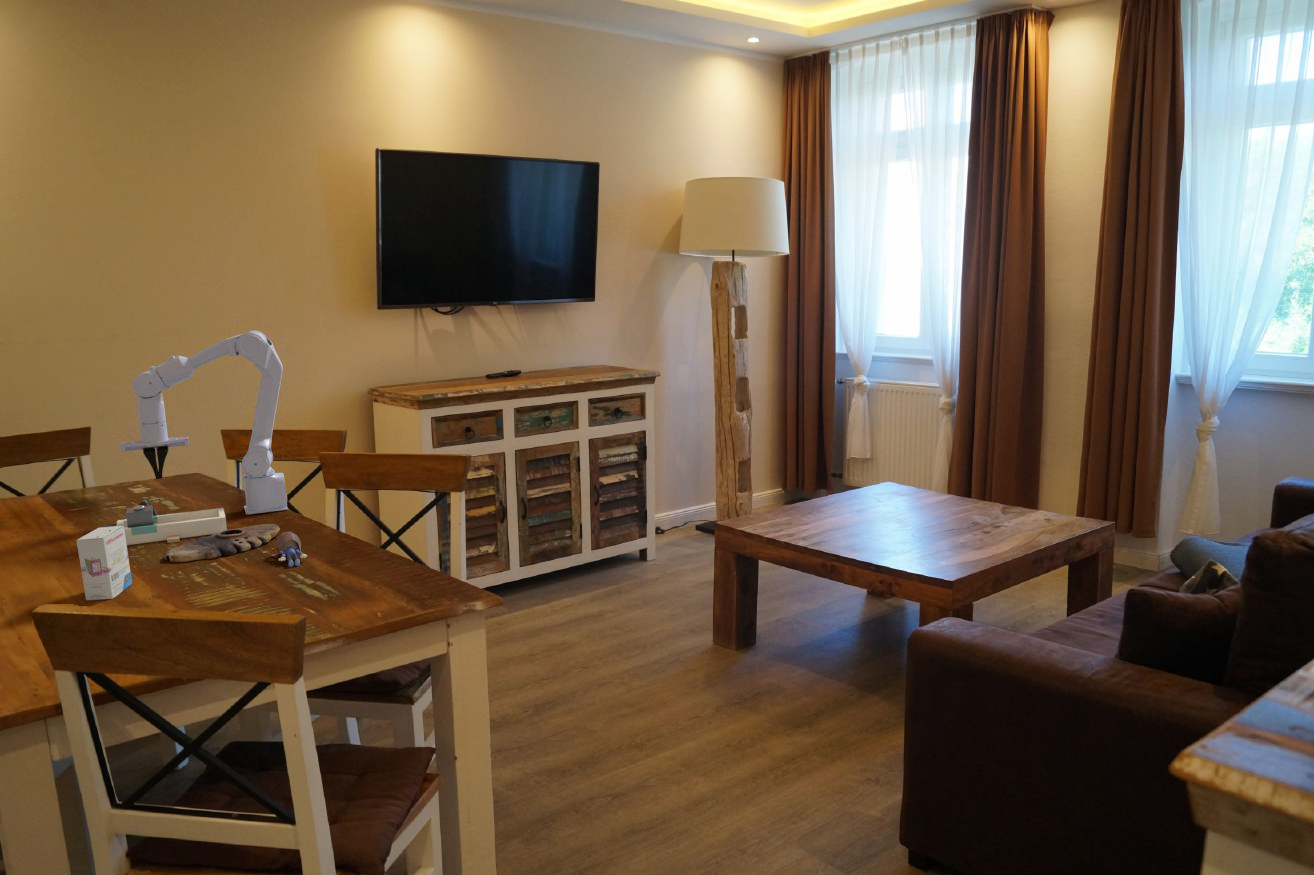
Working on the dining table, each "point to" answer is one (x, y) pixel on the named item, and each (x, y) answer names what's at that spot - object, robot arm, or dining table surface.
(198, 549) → the mask
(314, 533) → the dining table surface
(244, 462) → the robot arm
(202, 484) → the dining table surface
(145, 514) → the rider
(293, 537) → the figurine
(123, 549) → the ink box
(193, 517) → the white rectangular tray
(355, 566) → the dining table surface
